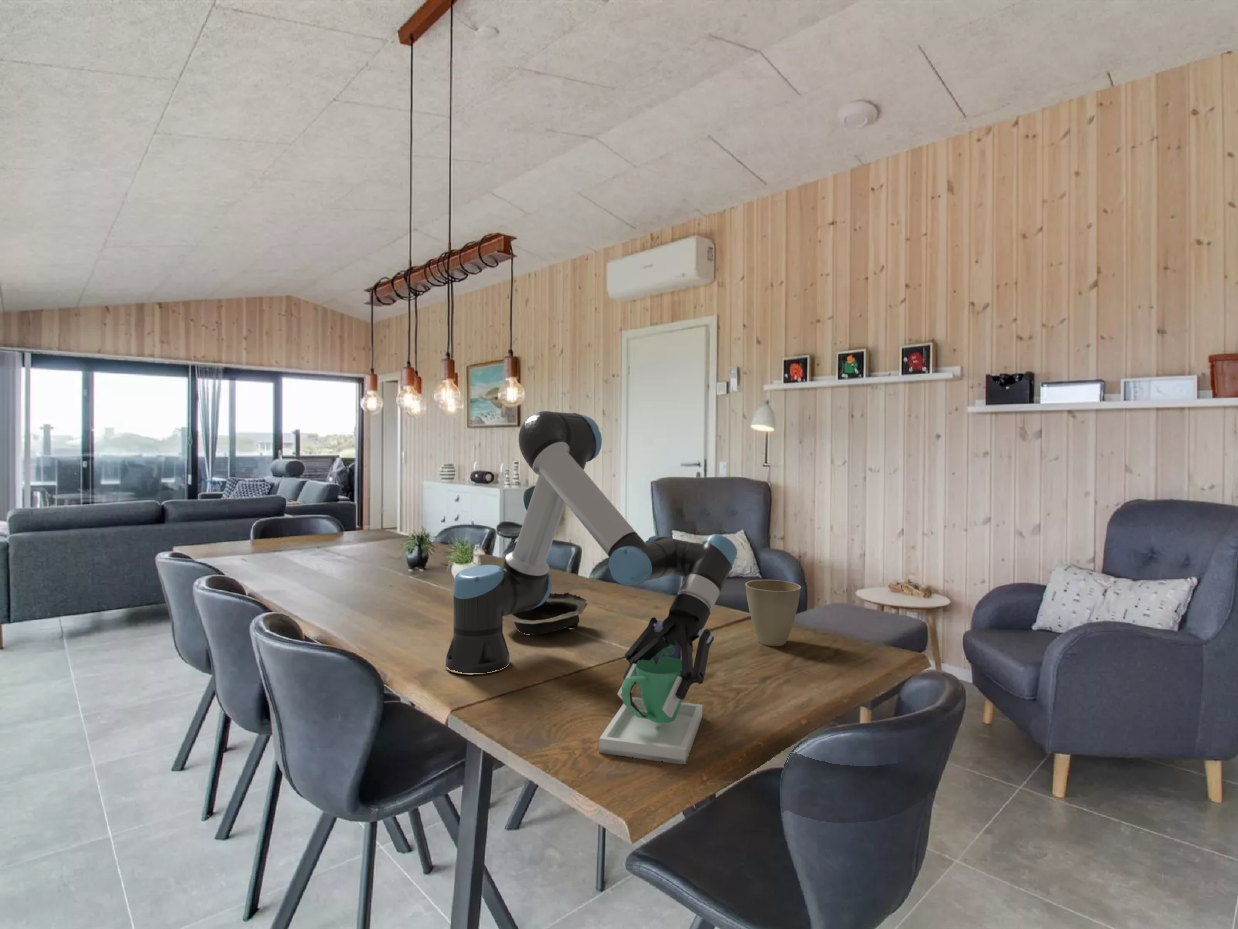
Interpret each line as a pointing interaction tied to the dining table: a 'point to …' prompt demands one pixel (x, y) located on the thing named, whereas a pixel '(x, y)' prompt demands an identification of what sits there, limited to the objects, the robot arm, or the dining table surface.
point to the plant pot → (772, 609)
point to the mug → (653, 687)
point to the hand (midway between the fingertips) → (643, 705)
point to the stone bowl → (550, 615)
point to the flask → (668, 652)
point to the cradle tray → (652, 734)
